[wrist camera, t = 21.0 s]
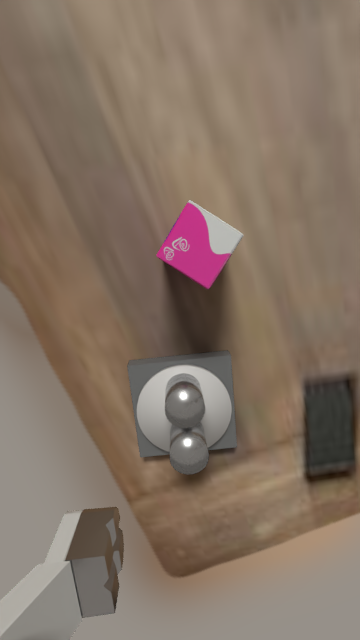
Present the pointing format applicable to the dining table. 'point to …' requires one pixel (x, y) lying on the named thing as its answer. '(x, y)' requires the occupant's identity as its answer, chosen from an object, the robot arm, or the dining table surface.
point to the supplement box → (199, 244)
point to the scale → (150, 399)
